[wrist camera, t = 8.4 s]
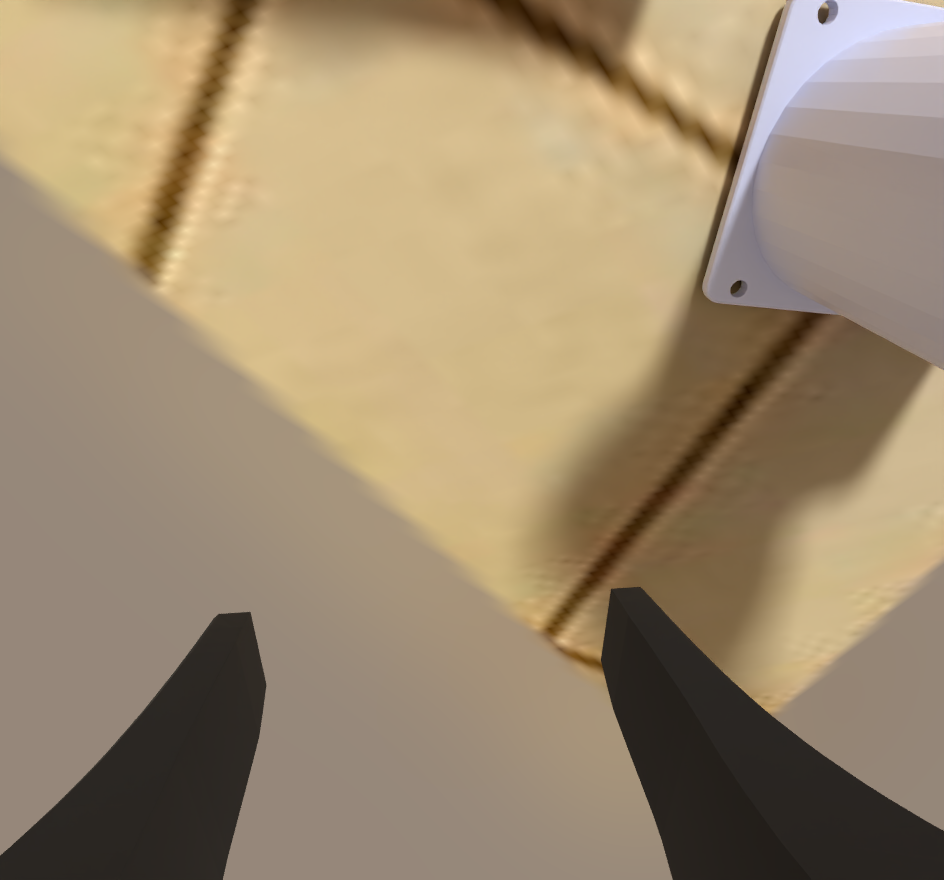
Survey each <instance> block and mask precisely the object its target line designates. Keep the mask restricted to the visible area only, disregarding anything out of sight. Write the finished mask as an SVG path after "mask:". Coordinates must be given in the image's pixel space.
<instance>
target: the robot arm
mask: <svg viewBox="0 0 944 880" xmlns="http://www.w3.org/2000/svg"><path fill="white" fill-rule="evenodd" d="M824 2H825V3H827V4H828V7H829V16H828V17H827V19H826V21H825V22H824V23H823V24H821V23H819V20H818V18H817V16H818V10H819V8H820V6H821V4H823V3H824ZM739 280H741V287H740V289H739V290H738V291H737V292H736V293H733V294H731V293H730V288H731V286H732V285H733V283H735V282H736V281H739ZM702 290H703V293H704V295H705V296H706V297H707V298H708V299H709V300H711V301H712V302H715V303H721V304H731V305H741V306H752V307H762V308H772V309H782V310H793V311H803V312H813V313H823V314H833V315H842V316H843V317H845V318H847V319H849V320H851V321H853V322H855V323H857V324H858V325H860V326H862V327H864V328H866V329H868V330H870V331H872V332H873V333H875V334H877V335H879V336H881V337H883V338H885V339H886V340H888V341H890V342H892V343H894V344H896V345H898V346H900V347H901V348H903V349H905V350H907V351H909V352H911V353H913V354H915V355H916V356H918V357H920V358H922V359H924V360H926V361H928V362H929V363H931V364H933V365H935V366H937V367H939V368H941V369H943V370H944V8H942V7H936V6H931V5H925V4H919V3H914V2H908V1H902V0H787V2H786V4H785V6H784V8H783V12H782V15H781V19H780V22H779V25H778V29H777V32H776V36H775V39H774V42H773V46H772V49H771V53H770V56H769V59H768V63H767V66H766V70H765V73H764V76H763V80H762V83H761V87H760V90H759V93H758V97H757V100H756V104H755V107H754V110H753V114H752V117H751V121H750V124H749V127H748V131H747V134H746V138H745V141H744V144H743V148H742V151H741V155H740V158H739V161H738V165H737V168H736V172H735V175H734V178H733V182H732V185H731V189H730V192H729V195H728V199H727V202H726V206H725V209H724V212H723V216H722V219H721V223H720V226H719V229H718V233H717V236H716V240H715V243H714V246H713V250H712V253H711V257H710V260H709V263H708V267H707V270H706V274H705V277H704V280H703V286H702ZM601 662H602V666H603V670H604V675H605V679H606V683H607V687H608V691H609V695H610V699H611V702H612V706H613V710H614V712H615V715H616V718H617V721H618V723H619V726H620V729H621V731H622V734H623V737H624V739H625V742H626V745H627V747H628V750H629V752H630V755H631V758H632V760H633V763H634V766H635V768H636V771H637V774H638V776H639V779H640V781H641V784H642V787H643V789H644V792H645V795H646V797H647V800H648V802H649V805H650V808H651V810H652V813H653V816H654V818H655V821H656V824H657V827H658V830H659V833H660V836H661V839H662V843H663V846H664V850H665V853H666V857H667V860H668V864H669V868H670V871H671V874H672V878H673V880H944V831H943V830H941V829H939V828H937V827H936V826H934V825H932V824H930V823H928V822H927V821H925V820H923V819H922V818H920V817H918V816H916V815H915V814H913V813H912V812H910V811H908V810H907V809H905V808H903V807H902V806H900V805H898V804H897V803H895V802H893V801H892V800H890V799H888V798H887V797H885V796H884V795H882V794H880V793H879V792H877V791H876V790H874V789H873V788H871V787H869V786H868V785H866V784H865V783H863V782H862V781H860V780H859V779H857V778H856V777H854V776H853V775H851V774H850V773H848V772H847V771H845V770H844V769H843V768H841V767H840V766H838V765H837V764H835V763H834V762H832V761H831V760H829V759H828V758H827V757H825V756H823V755H822V754H821V753H819V752H818V751H817V750H815V749H814V748H813V747H811V746H810V745H808V744H807V743H806V742H804V741H803V740H802V739H801V738H799V737H798V736H797V735H796V734H794V733H793V732H792V731H790V730H789V729H788V728H787V727H785V726H784V725H783V724H781V723H780V722H779V721H778V720H776V719H775V718H774V717H773V716H771V715H770V714H769V713H768V712H767V711H765V710H764V709H763V708H762V707H761V706H760V705H758V704H757V703H756V702H755V701H754V700H753V699H752V698H750V697H749V696H748V695H747V694H746V693H745V692H744V691H743V690H741V689H740V688H739V687H738V686H737V685H736V684H735V683H734V682H733V681H732V680H731V679H729V678H728V677H727V676H726V675H725V674H724V673H723V672H722V671H721V670H720V669H719V668H718V667H717V666H716V665H715V664H714V663H713V662H712V661H711V660H710V659H709V658H708V657H707V656H706V655H705V654H704V653H703V652H702V651H701V650H700V649H699V648H698V647H697V646H696V645H695V644H694V643H693V642H692V641H691V640H690V639H689V638H688V637H687V636H686V635H685V634H684V633H683V632H682V631H681V630H680V629H679V628H678V627H677V625H676V624H675V623H674V622H673V621H672V620H671V619H670V618H669V617H668V616H667V615H666V614H665V613H664V612H663V610H662V609H661V608H660V607H659V606H658V605H657V604H656V603H655V602H654V601H653V600H652V599H651V597H650V596H649V595H648V594H647V593H646V592H645V591H644V590H643V589H642V588H641V587H632V588H617V589H611V594H610V601H609V608H608V615H607V622H606V629H605V636H604V643H603V650H602V657H601ZM265 690H266V681H265V677H264V672H263V668H262V663H261V659H260V654H259V649H258V645H257V640H256V636H255V631H254V626H253V622H252V617H251V613H250V612H244V613H228V614H218V615H217V616H216V617H215V618H214V619H213V620H212V622H211V623H210V625H209V626H208V627H207V629H206V630H205V631H204V633H203V634H202V636H201V637H200V638H199V640H198V641H197V642H196V644H195V645H194V646H193V648H192V649H191V651H190V652H189V653H188V655H187V656H186V658H185V659H184V660H183V661H182V663H181V664H180V665H179V667H178V668H177V669H176V671H175V672H174V673H173V674H172V676H171V677H170V678H169V679H168V681H167V682H166V683H165V684H164V686H163V687H162V688H161V689H160V691H159V692H158V693H157V694H156V696H155V697H154V698H153V700H152V701H151V702H150V703H149V704H148V706H147V707H146V708H145V709H144V711H143V712H142V713H141V714H140V715H139V716H138V718H137V719H136V720H135V721H134V722H133V723H132V725H131V726H130V727H129V728H128V729H127V730H126V731H125V733H124V734H123V735H122V736H121V737H120V738H119V739H118V741H117V742H116V743H115V744H114V745H113V746H112V747H111V749H110V750H109V751H108V752H107V753H106V754H105V755H104V756H103V757H102V758H101V760H99V762H98V763H97V764H96V765H95V766H94V767H93V768H92V769H91V770H90V771H89V772H88V773H87V774H86V775H85V776H84V777H83V778H82V779H81V781H79V782H78V783H77V784H76V786H75V787H73V788H72V789H71V790H70V791H69V792H68V794H66V795H65V797H64V798H62V799H61V800H60V801H59V802H58V803H57V804H56V805H55V806H54V807H53V808H52V809H51V810H50V811H49V812H48V813H47V814H46V815H45V816H43V817H42V818H41V819H40V820H39V821H38V822H37V823H36V824H35V825H34V826H33V827H32V828H31V829H29V830H28V831H27V832H26V833H25V834H24V835H23V836H22V837H21V838H20V839H18V840H17V841H16V842H15V843H14V844H13V845H12V846H11V847H10V848H8V849H7V850H6V851H5V852H4V853H3V854H2V855H0V880H223V876H224V872H225V867H226V862H227V858H228V854H229V850H230V846H231V843H232V838H233V835H234V831H235V827H236V824H237V820H238V816H239V812H240V808H241V805H242V801H243V797H244V793H245V789H246V785H247V782H248V778H249V774H250V770H251V766H252V763H253V759H254V755H255V751H256V747H257V743H258V739H259V734H260V727H261V720H262V714H263V705H264V699H265Z"/></svg>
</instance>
